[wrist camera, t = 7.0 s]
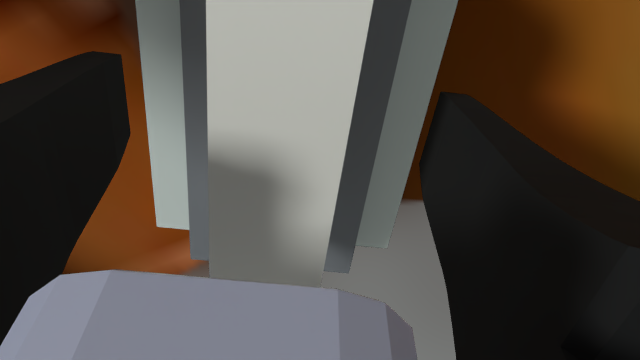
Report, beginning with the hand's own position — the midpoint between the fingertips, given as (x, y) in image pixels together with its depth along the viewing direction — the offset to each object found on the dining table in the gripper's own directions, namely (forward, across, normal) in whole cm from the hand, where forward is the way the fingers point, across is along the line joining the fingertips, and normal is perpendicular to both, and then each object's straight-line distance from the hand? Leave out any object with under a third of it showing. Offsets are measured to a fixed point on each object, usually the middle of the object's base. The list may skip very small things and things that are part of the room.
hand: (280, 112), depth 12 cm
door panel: (+4, 0, 0) cm, 4 cm away
